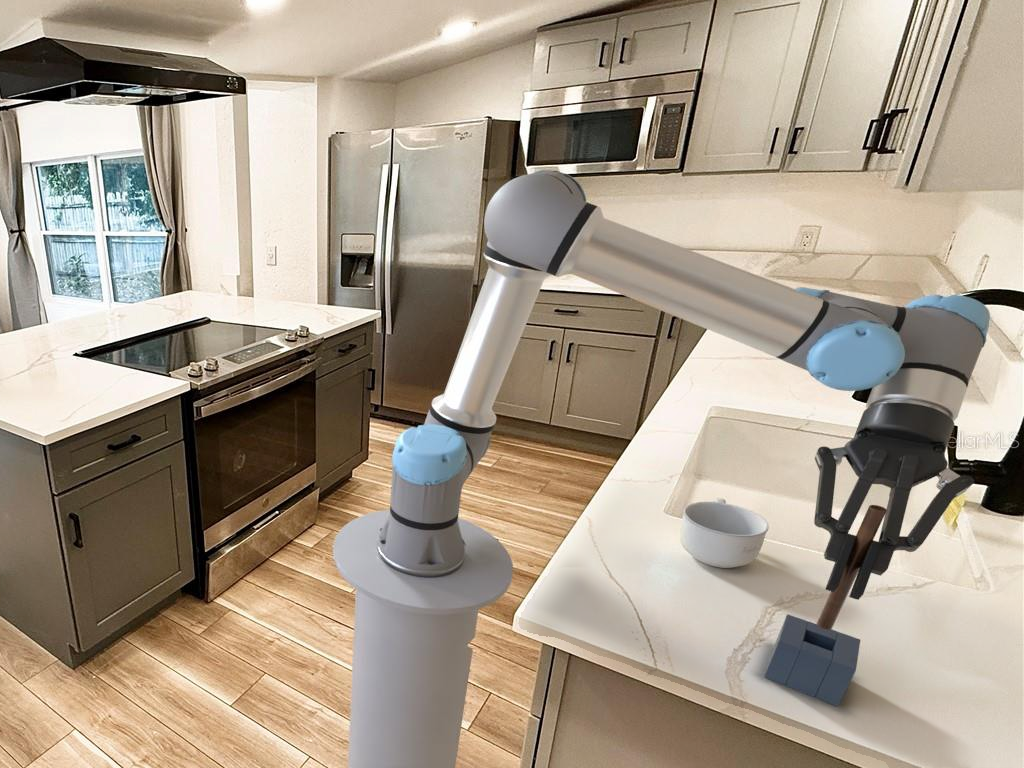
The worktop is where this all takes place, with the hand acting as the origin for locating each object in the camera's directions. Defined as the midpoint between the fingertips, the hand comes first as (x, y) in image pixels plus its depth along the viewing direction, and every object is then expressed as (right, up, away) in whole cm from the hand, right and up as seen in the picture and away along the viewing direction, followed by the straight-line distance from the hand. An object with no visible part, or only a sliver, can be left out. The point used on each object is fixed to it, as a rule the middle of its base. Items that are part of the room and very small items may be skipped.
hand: (843, 591), depth 70 cm
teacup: (+12, -2, +33) cm, 35 cm away
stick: (+3, -6, +5) cm, 8 cm away
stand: (+4, -13, +9) cm, 16 cm away
